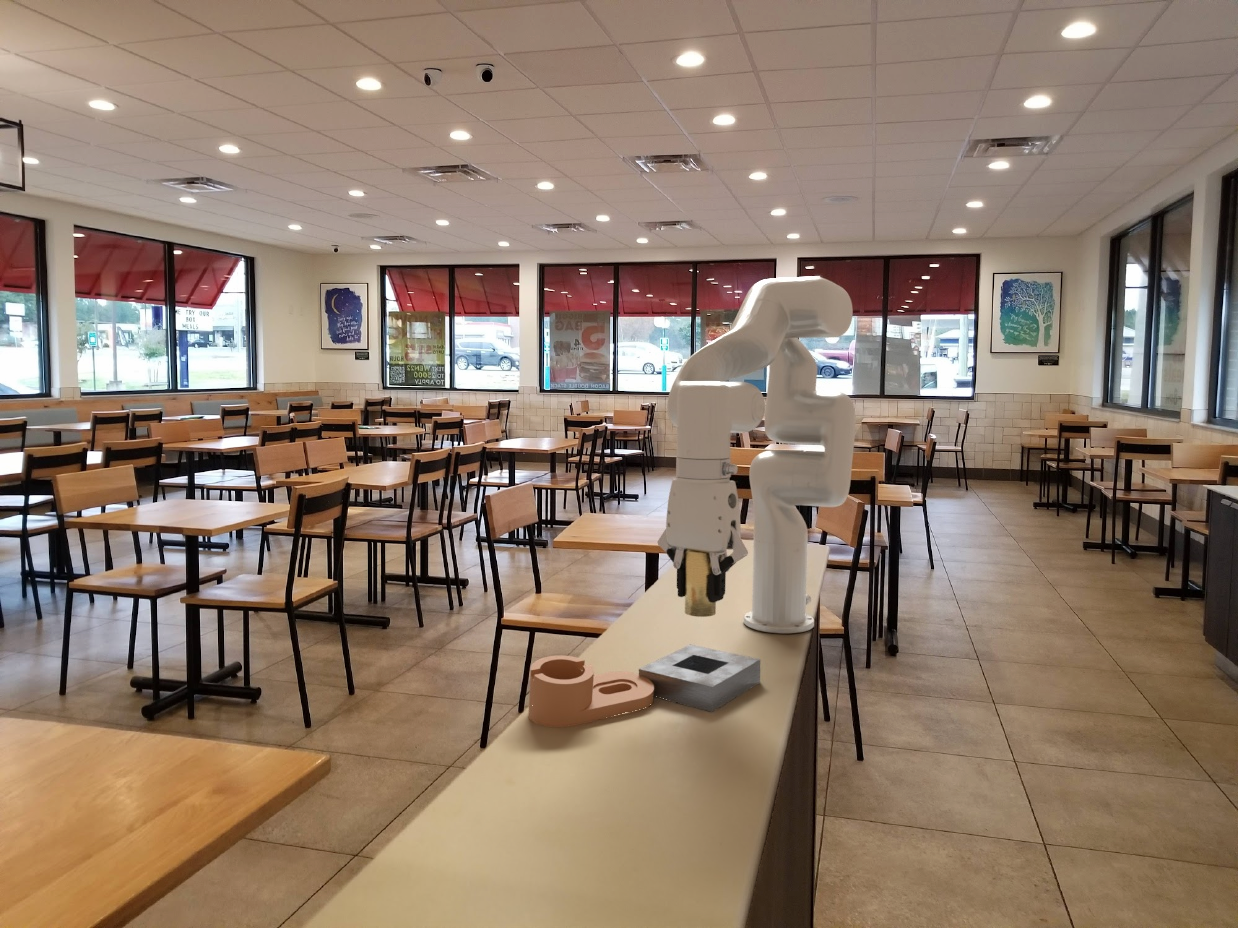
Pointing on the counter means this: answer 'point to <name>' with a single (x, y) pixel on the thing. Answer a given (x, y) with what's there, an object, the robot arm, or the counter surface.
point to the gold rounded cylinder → (698, 584)
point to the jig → (702, 676)
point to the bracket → (582, 692)
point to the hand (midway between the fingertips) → (700, 596)
